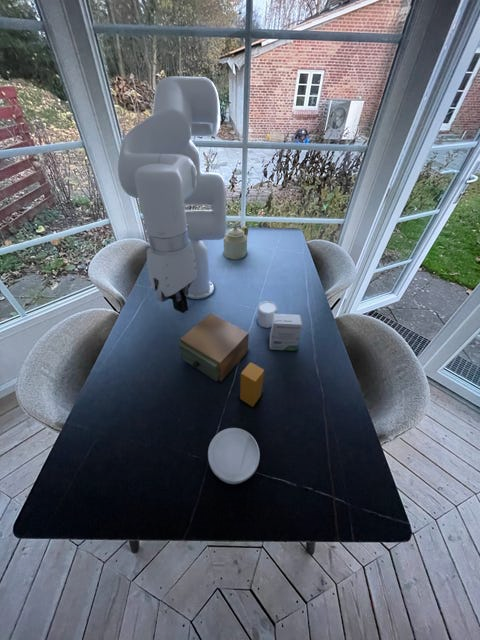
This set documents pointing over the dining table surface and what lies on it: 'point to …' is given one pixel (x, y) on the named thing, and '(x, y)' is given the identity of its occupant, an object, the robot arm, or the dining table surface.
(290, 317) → the ink box
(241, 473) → the ramekin
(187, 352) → the drawer
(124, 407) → the dining table surface
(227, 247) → the sugar bowl
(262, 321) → the white cylinder
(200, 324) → the cabinet
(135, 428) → the dining table surface
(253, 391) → the block
